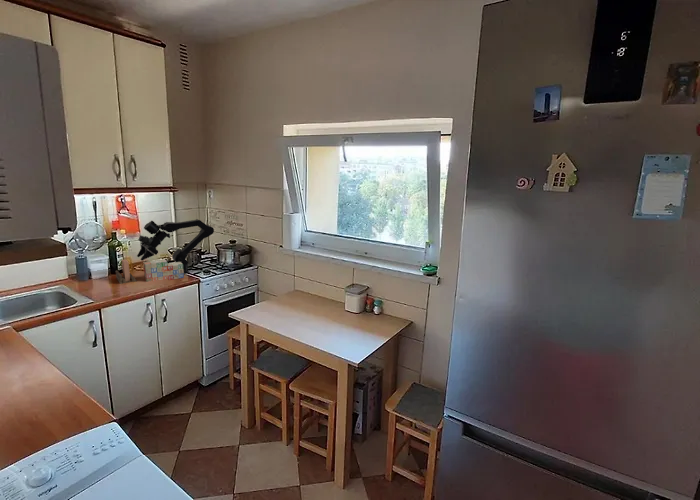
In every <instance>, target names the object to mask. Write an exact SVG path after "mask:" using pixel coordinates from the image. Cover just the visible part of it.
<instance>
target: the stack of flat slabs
mask: <svg viewBox="0 0 700 500" xmlns="http://www.w3.org/2000/svg"><path fill="white" fill-rule="evenodd" d="M129 273H130V281H125V279H124V277H123V274H121V273H120V272H119V271H118V270H115V277H116V278H115V279H116V281H118V282H119V284H120V285H122V284H127V283H128V284H129V283H134V282H135V283H136V282H138V280H137V279H136V278H135V276H133V275H132V273H131V272H129Z"/></svg>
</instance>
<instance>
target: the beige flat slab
mask: <svg viewBox="0 0 700 500" xmlns="http://www.w3.org/2000/svg"><path fill="white" fill-rule="evenodd" d="M129 263H130V262H129V261H128V260H127V259H121V266H122V267H121V268H122V276H123V277H124V279H125V281H130V273H131V272H130V265H129Z"/></svg>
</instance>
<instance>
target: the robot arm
mask: <svg viewBox="0 0 700 500" xmlns="http://www.w3.org/2000/svg"><path fill="white" fill-rule="evenodd" d="M192 227H193V228H194V227H199V229H200V231H199V233H198V234H197V235H196V236H195V237H194V238H193V239H192V240H191V241H190V242H188V243H187V244H186V245H185V246H184V247H183V248H181V249H179V248H177V249H176V250H175V251H174V252H173V254H172V257H171V258H172V260H173V261H175V262H181V263H182V264H183V270H184V275H185V274H189V273H190V271H189V269H188V268H189V267H188V264H189V261H188V260H187V257H188V255H189V253H191V251H193V250H194V249H195V248H196V246H198V245H199V244H200V243H201V242H202V241H203V240H205V239H206V238H209V237H210V236H211V235H213V234H214V232H215V229H214V227H213V226H211V225H209V224H207V223H205V222H203V221H202V220H200V219H198V218H196V219H192V220H186V221H180V222H179V221H178V222H175V221H174V222H173V221H165V222H164V223H163V224H157V223H156V222H155V221H154V220H150V221H149V222H148V223H146V224H145V225H144V226H143V230H145V231H146V232H147V233H149V234H151V235H153V236H150V237H149V236H146V235H139V238H138V241H139V242H140V250H139V251H138V254H137V255H136V257H138V258H140V257H141V258H140V260H141V261H144V260H146V259H148V258H151V257H153V256H154V257H155V256H157V255H158V254H159V250H158V249H157V248H158V246H159V245H162V242H163V241H164V240H165V239H166V238H168V239H170V238H171V233H173V232H174V233H175V232H176V231H179V230H180V229H181V230H182V229H185V228H192ZM188 272H189V273H188Z"/></svg>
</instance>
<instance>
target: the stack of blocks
mask: <svg viewBox="0 0 700 500" xmlns="http://www.w3.org/2000/svg"><path fill="white" fill-rule="evenodd" d="M142 263H143V273H144V279H145V280H144V281H146V282H147V283H148V282H154V281H160V280H161V281H162V280H168V281H171V280H176V279H177V280H178V279H184V278H185V274H184V270H183V264H182V263H181V262H176V261H175V262H169V263H168V261H167V260H166V259H165V258H163V259H156V260H148V261H143V262H142Z"/></svg>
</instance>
